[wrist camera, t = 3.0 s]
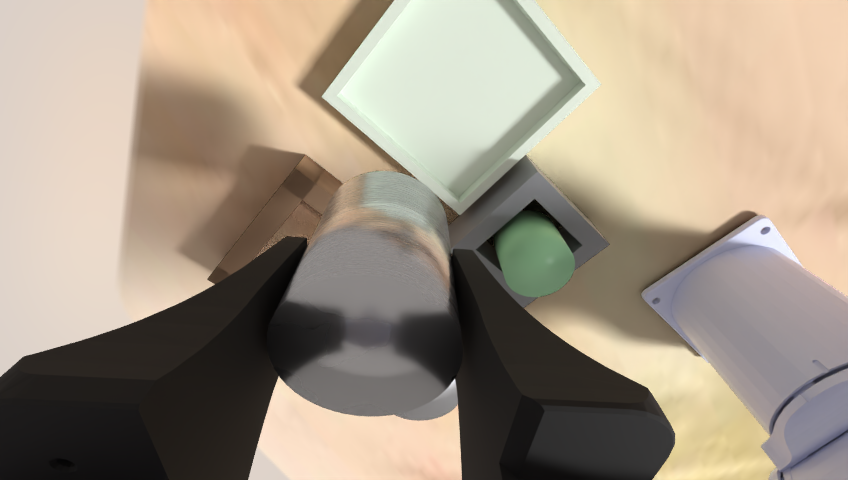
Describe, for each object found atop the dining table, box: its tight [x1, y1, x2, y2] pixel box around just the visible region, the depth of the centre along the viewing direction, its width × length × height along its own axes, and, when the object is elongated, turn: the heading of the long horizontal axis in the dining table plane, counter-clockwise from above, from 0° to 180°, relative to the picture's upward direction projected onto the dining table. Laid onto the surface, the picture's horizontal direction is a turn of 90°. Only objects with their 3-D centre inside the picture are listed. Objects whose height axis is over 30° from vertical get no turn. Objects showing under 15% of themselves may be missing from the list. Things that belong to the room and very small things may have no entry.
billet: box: [266, 171, 463, 416], centre depth 12 cm, size 4×4×6 cm
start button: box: [494, 210, 575, 297], centre depth 20 cm, size 3×3×3 cm
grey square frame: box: [448, 155, 610, 308], centre depth 22 cm, size 6×6×2 cm
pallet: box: [207, 155, 343, 284], centre depth 24 cm, size 17×9×2 cm, turn 47°
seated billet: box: [394, 379, 458, 420], centre depth 24 cm, size 4×4×6 cm
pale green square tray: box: [322, 0, 601, 215], centre depth 18 cm, size 9×9×1 cm
